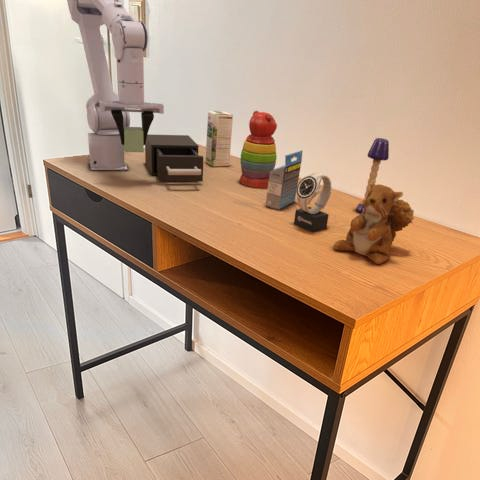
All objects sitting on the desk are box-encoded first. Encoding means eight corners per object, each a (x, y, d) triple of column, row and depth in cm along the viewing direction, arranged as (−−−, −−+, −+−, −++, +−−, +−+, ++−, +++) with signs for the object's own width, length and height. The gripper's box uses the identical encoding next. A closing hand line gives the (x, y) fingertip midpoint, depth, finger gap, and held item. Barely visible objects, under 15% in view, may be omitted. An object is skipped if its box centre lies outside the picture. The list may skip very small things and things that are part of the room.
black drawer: (207, 187, 122) (208, 161, 119) (162, 187, 119) (161, 161, 116) (192, 169, 136) (193, 145, 133) (152, 168, 133) (151, 145, 130)
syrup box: (204, 162, 147) (206, 110, 140) (222, 161, 150) (225, 110, 142) (211, 166, 143) (214, 113, 136) (230, 166, 145) (233, 113, 138)
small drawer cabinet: (197, 175, 134) (198, 145, 130) (151, 175, 130) (151, 144, 126) (187, 163, 144) (188, 135, 140) (145, 163, 141) (144, 134, 137)
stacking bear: (284, 186, 130) (293, 115, 121) (252, 190, 125) (259, 115, 116) (261, 176, 138) (268, 108, 129) (230, 179, 133) (235, 108, 124)
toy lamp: (376, 210, 118) (392, 138, 110) (375, 216, 114) (392, 142, 106) (356, 207, 119) (370, 135, 111) (354, 213, 115) (369, 139, 107)
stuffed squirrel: (329, 250, 94) (341, 181, 88) (369, 235, 103) (383, 172, 96) (373, 268, 88) (390, 196, 82) (411, 250, 97) (430, 184, 91)
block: (125, 152, 117) (124, 130, 115) (123, 148, 121) (122, 126, 118) (143, 152, 118) (143, 130, 116) (141, 148, 122) (141, 127, 119)
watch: (287, 225, 105) (294, 173, 99) (312, 219, 109) (320, 169, 104) (306, 233, 101) (314, 180, 96) (332, 227, 106) (341, 175, 100)
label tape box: (281, 198, 121) (287, 146, 115) (296, 201, 120) (303, 149, 113) (264, 206, 115) (270, 152, 108) (280, 210, 113) (286, 155, 107)
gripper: (99, 82, 107) (103, 147, 114) (165, 86, 111) (165, 148, 118) (97, 78, 112) (101, 140, 119) (161, 82, 116) (161, 141, 123)
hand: (133, 144), depth 119 cm, fingers closed on block, 4 cm apart
